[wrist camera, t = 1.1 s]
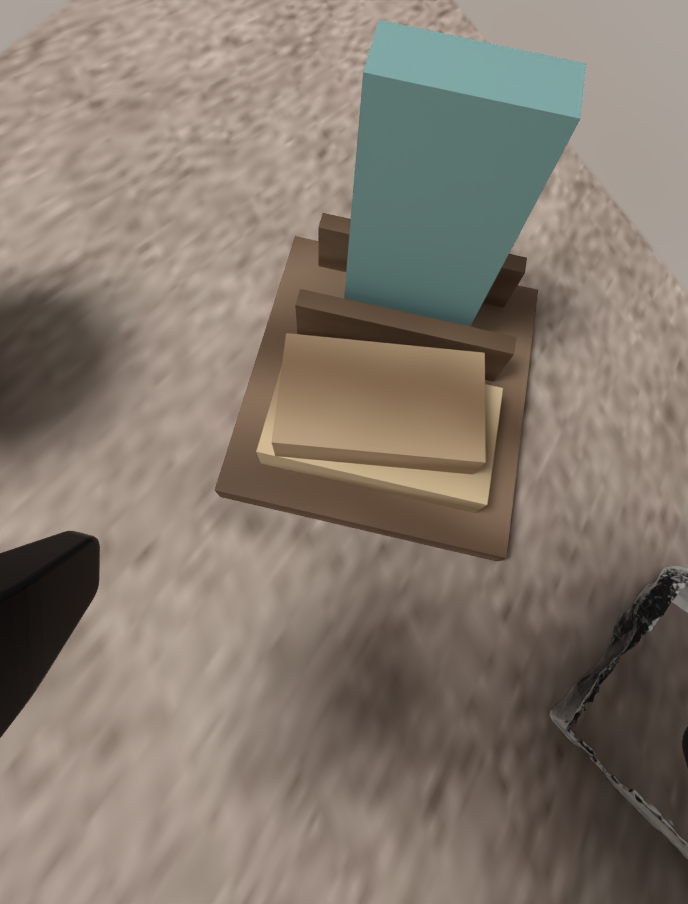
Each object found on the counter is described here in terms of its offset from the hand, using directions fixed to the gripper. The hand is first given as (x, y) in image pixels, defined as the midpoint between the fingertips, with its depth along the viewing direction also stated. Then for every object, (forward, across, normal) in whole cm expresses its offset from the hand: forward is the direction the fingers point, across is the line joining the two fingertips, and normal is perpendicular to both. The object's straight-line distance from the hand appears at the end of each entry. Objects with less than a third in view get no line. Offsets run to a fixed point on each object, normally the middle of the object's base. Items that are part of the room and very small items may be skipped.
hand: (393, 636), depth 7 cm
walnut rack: (+17, 0, +1) cm, 17 cm away
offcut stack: (+14, 0, +2) cm, 15 cm away
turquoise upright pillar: (+18, 0, -2) cm, 18 cm away
